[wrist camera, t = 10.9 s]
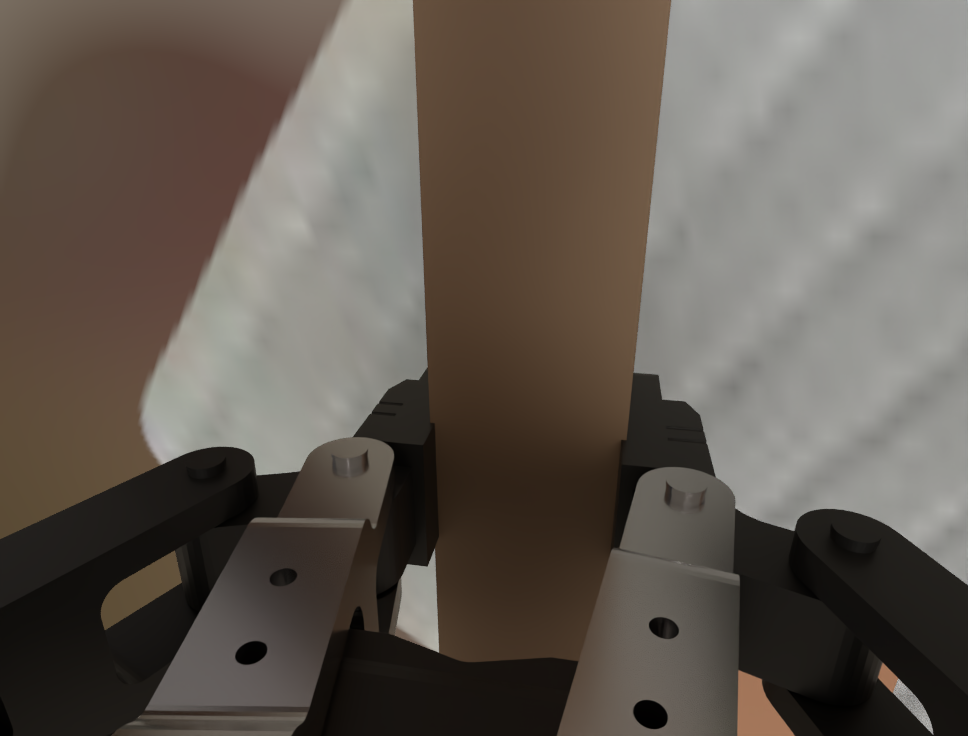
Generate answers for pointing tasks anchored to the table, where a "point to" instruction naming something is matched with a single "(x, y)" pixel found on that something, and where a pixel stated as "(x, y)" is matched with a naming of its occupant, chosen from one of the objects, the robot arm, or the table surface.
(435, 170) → the wooden post on base
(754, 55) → the table surface
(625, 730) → the robot arm
